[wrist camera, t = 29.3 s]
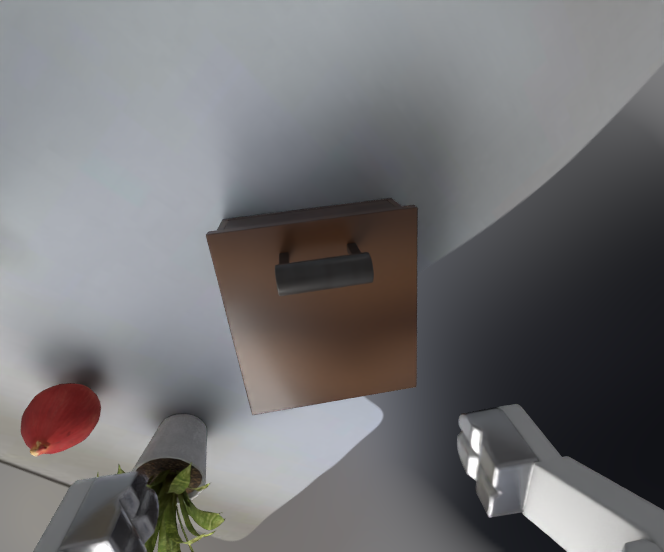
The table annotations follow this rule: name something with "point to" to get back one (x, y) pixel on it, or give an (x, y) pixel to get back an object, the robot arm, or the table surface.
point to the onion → (59, 418)
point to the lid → (321, 305)
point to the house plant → (177, 479)
